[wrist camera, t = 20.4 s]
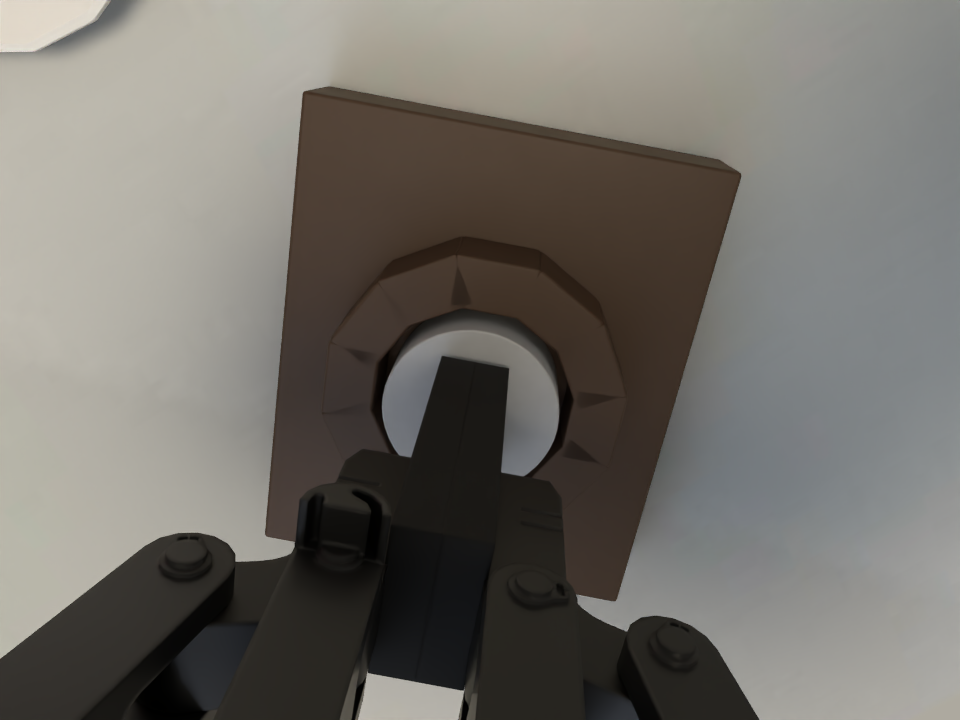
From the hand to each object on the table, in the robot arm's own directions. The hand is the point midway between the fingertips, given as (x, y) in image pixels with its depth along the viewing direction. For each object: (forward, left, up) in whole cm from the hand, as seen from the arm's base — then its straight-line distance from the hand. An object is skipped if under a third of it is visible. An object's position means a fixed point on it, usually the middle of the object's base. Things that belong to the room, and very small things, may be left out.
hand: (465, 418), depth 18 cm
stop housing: (0, 0, -5) cm, 5 cm away
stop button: (0, 0, -2) cm, 2 cm away
